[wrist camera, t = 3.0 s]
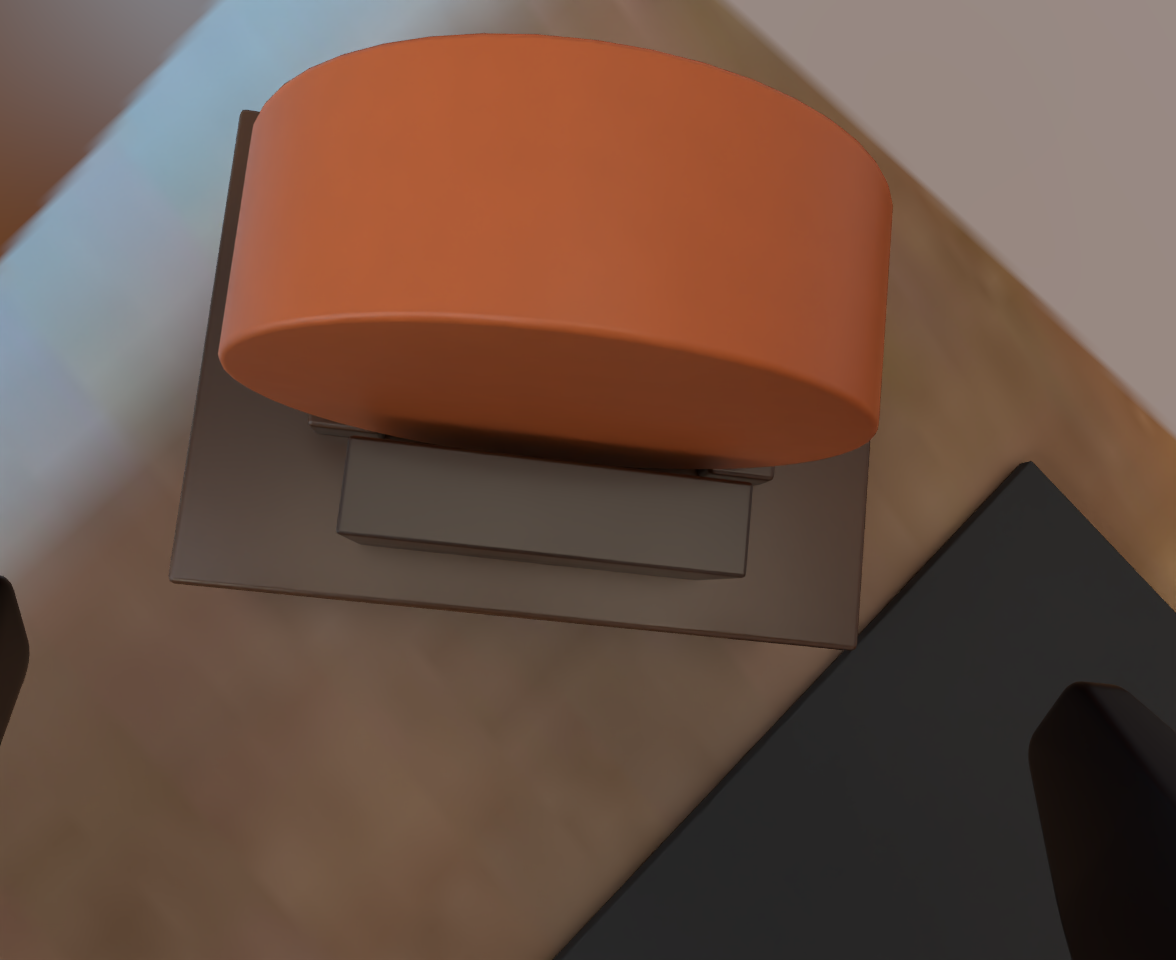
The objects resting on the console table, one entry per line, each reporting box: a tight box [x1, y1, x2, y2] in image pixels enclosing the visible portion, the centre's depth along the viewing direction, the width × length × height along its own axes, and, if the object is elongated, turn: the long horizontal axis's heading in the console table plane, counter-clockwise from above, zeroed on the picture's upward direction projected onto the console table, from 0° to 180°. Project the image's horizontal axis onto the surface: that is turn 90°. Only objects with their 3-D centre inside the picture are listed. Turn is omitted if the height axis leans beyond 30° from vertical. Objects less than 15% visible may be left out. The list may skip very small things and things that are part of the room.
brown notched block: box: [169, 110, 870, 651], centre depth 16 cm, size 7×10×7 cm
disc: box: [218, 33, 893, 469], centre depth 11 cm, size 2×7×7 cm, turn 84°
